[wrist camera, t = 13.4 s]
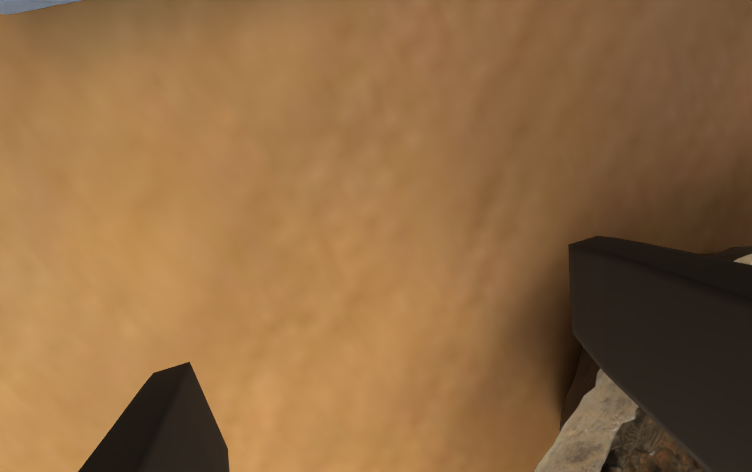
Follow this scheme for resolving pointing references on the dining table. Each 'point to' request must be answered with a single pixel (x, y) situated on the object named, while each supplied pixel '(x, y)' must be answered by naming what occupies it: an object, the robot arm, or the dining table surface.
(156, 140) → the dining table surface
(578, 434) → the stone bowl
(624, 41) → the dining table surface
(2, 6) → the pen rack
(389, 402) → the dining table surface
